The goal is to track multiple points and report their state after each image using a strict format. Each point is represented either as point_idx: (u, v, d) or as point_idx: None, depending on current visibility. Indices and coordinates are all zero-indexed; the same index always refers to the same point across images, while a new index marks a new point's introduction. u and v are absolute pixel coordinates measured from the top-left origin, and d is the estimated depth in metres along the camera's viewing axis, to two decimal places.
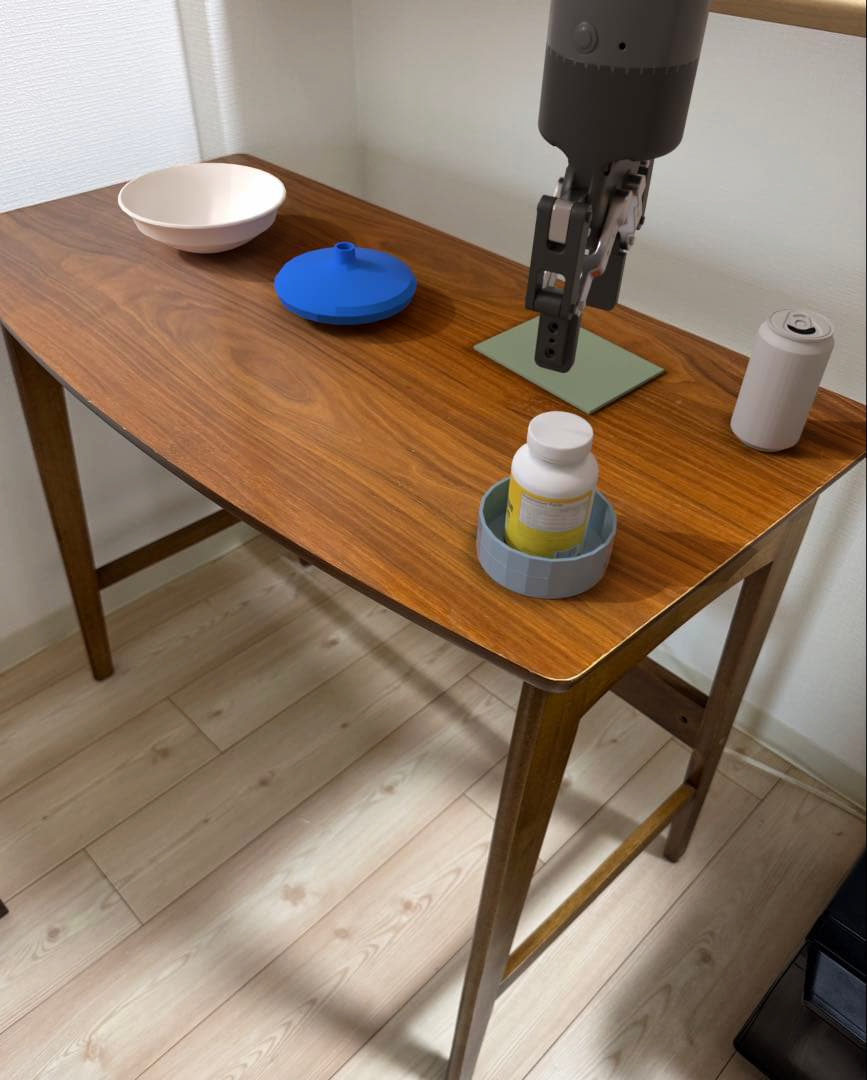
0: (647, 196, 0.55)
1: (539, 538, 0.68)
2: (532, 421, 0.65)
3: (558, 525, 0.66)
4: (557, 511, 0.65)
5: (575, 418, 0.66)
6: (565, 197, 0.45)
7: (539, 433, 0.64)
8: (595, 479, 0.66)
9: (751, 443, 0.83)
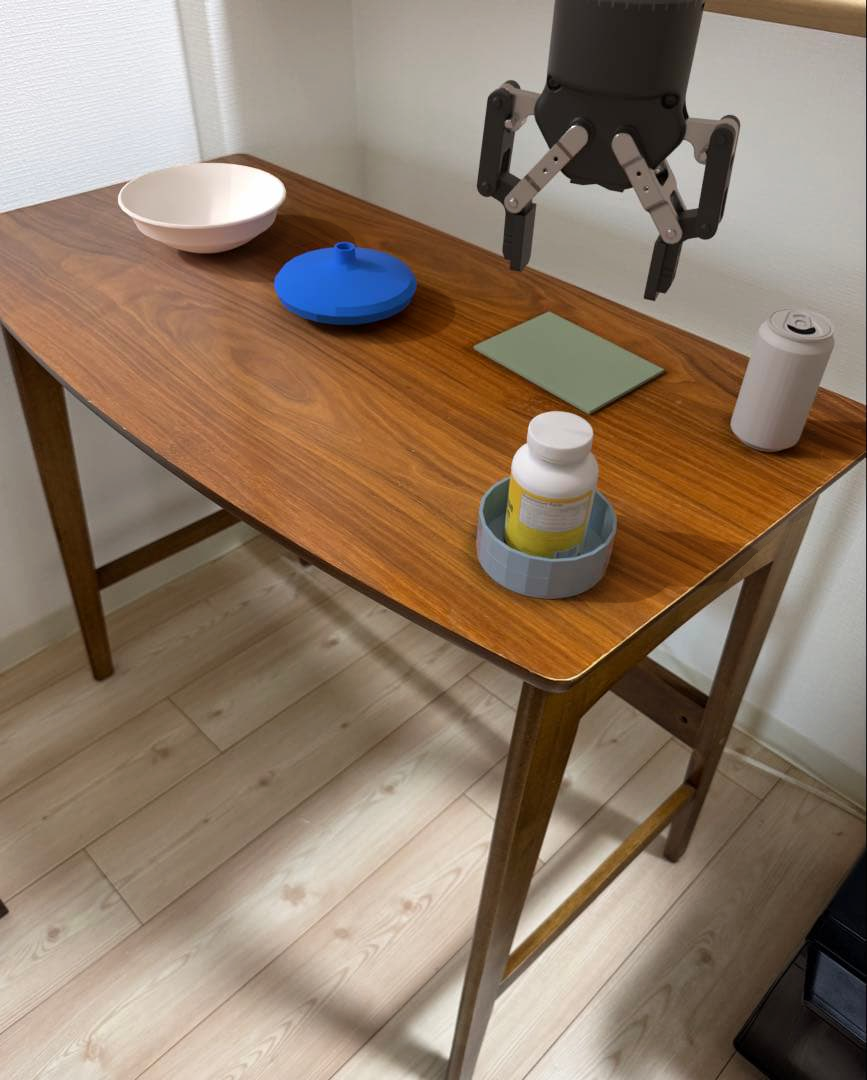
0: (719, 207, 0.49)
1: (539, 538, 0.68)
2: (532, 421, 0.65)
3: (558, 525, 0.66)
4: (557, 511, 0.65)
5: (575, 418, 0.66)
6: (519, 89, 0.51)
7: (539, 433, 0.64)
8: (595, 479, 0.66)
9: (751, 443, 0.83)
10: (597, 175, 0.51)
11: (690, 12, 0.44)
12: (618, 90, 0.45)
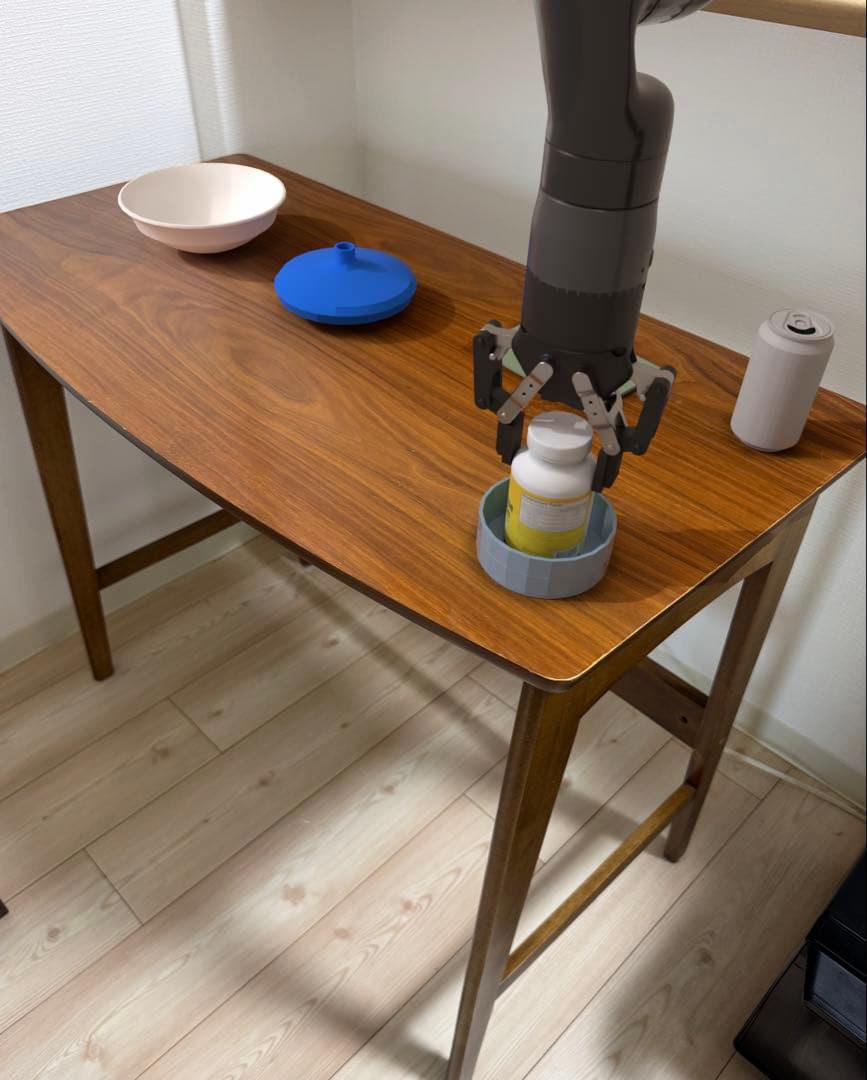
0: (651, 436, 0.60)
1: (539, 538, 0.68)
2: (532, 421, 0.65)
3: (558, 525, 0.66)
4: (557, 511, 0.65)
5: (575, 418, 0.66)
6: (499, 328, 0.62)
7: (539, 433, 0.64)
8: None
9: (751, 443, 0.83)
10: (562, 396, 0.61)
11: (631, 294, 0.54)
12: (573, 349, 0.56)
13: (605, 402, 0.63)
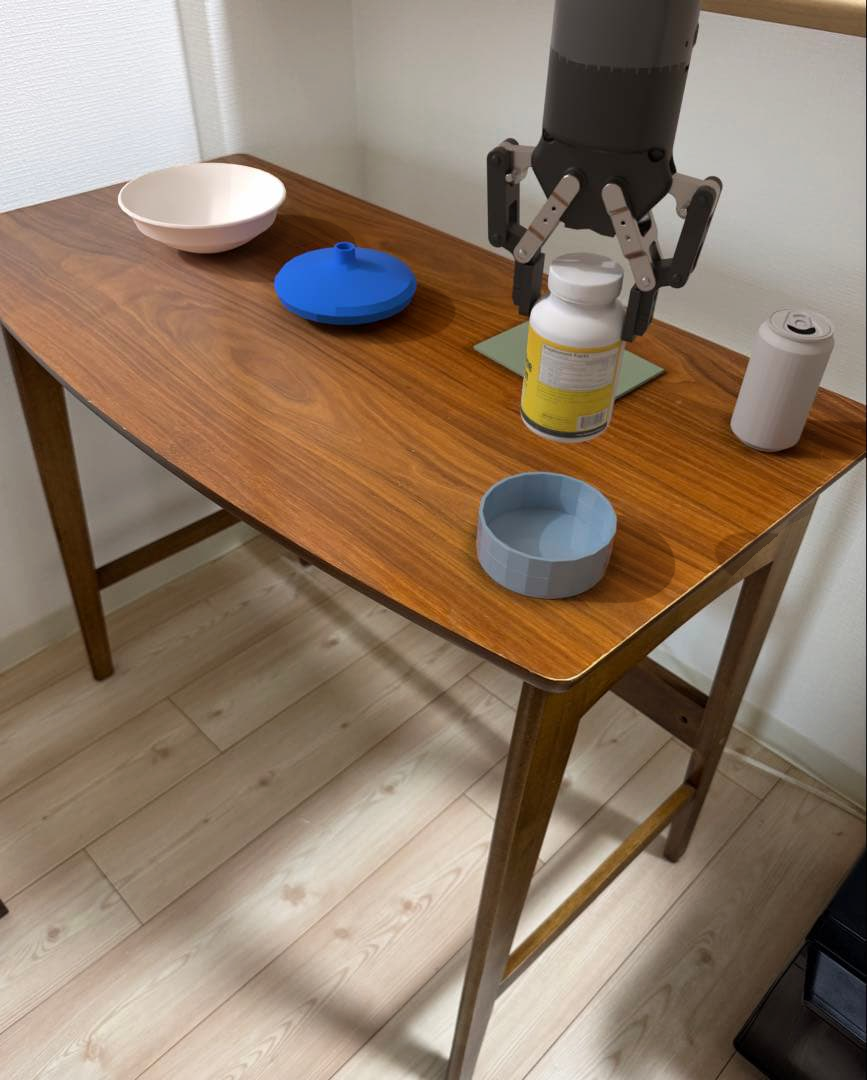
0: (692, 261, 0.52)
1: (561, 400, 0.60)
2: (554, 261, 0.57)
3: (584, 382, 0.59)
4: (582, 363, 0.58)
5: (603, 258, 0.58)
6: (516, 145, 0.54)
7: (562, 271, 0.56)
8: None
9: (751, 443, 0.83)
10: (589, 221, 0.54)
11: (673, 74, 0.47)
12: (605, 145, 0.48)
13: (638, 230, 0.55)
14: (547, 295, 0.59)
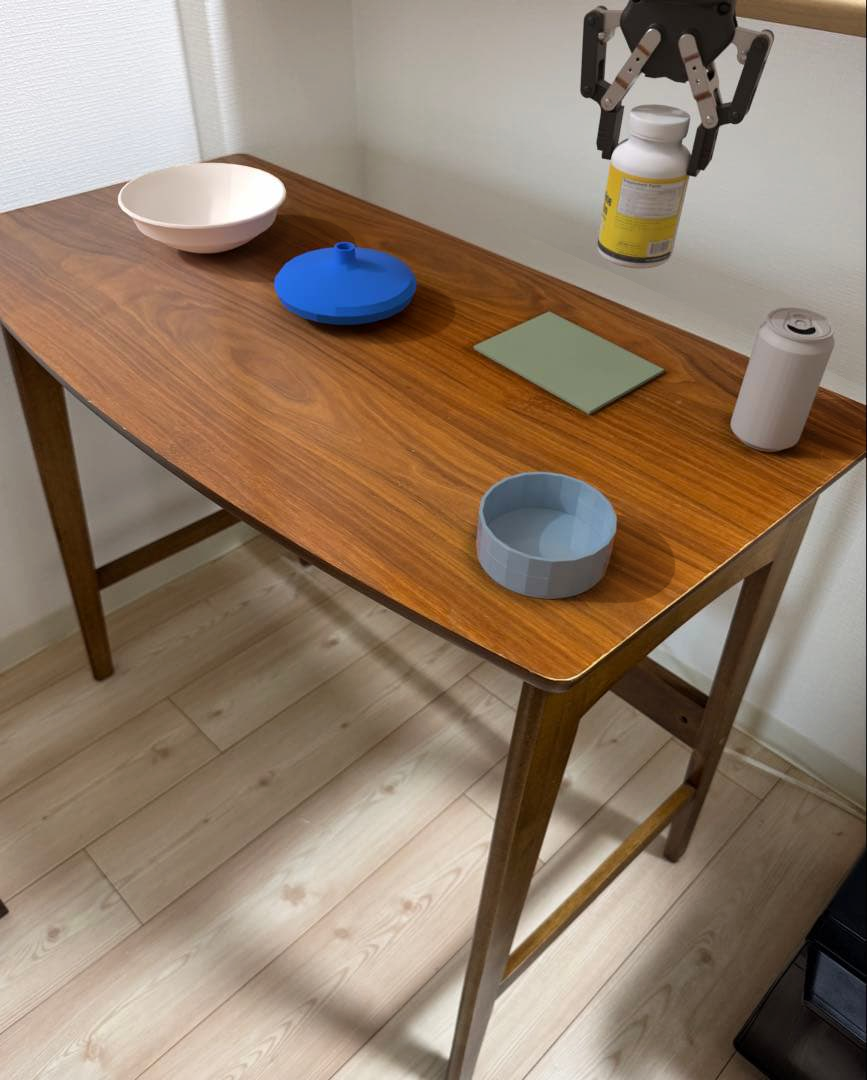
0: (749, 99, 0.66)
1: (636, 228, 0.73)
2: (633, 109, 0.71)
3: (655, 210, 0.72)
4: (655, 193, 0.71)
5: (672, 108, 0.71)
6: (607, 10, 0.68)
7: (640, 115, 0.70)
8: None
9: (751, 443, 0.83)
10: (666, 69, 0.67)
11: None
12: None
13: None
14: (625, 140, 0.72)
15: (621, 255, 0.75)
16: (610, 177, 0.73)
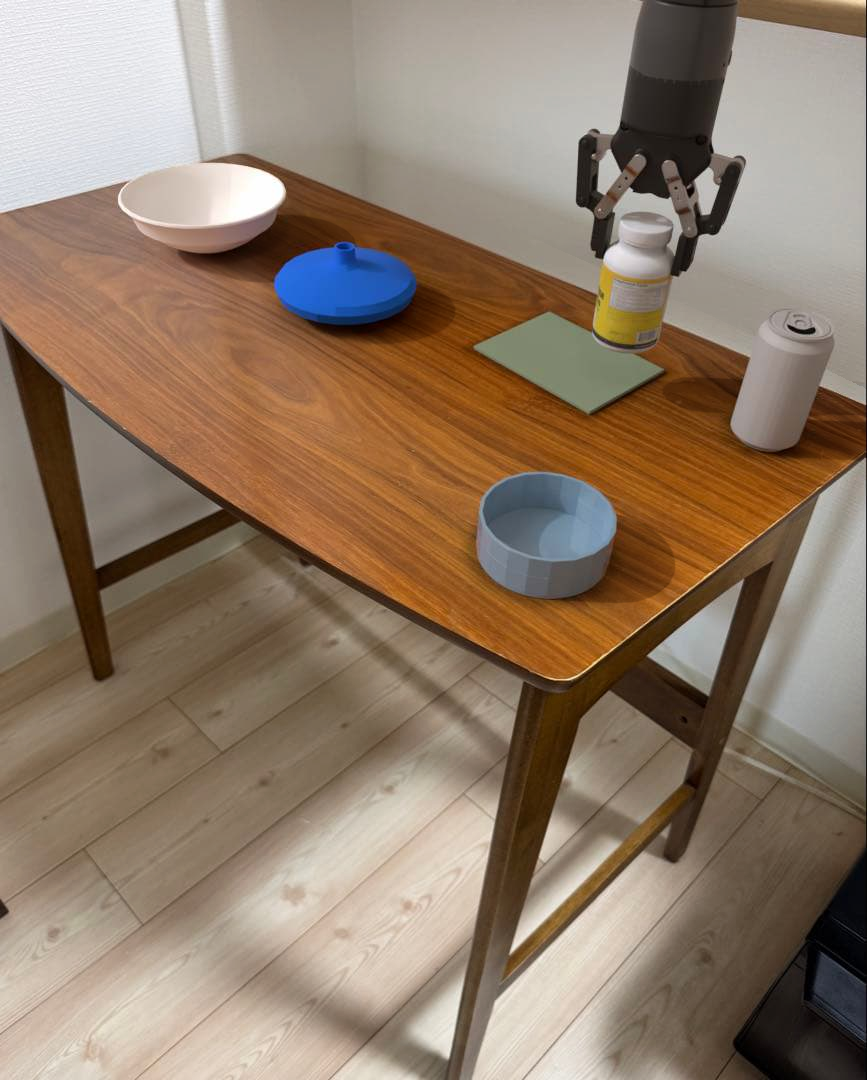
0: (724, 215, 0.75)
1: (625, 319, 0.82)
2: (622, 217, 0.80)
3: (643, 306, 0.81)
4: (642, 291, 0.80)
5: (658, 215, 0.80)
6: (599, 134, 0.77)
7: (629, 224, 0.79)
8: None
9: (751, 443, 0.83)
10: (651, 187, 0.76)
11: (714, 85, 0.69)
12: (667, 133, 0.71)
13: None
14: (616, 242, 0.81)
15: (613, 342, 0.84)
16: (603, 275, 0.82)
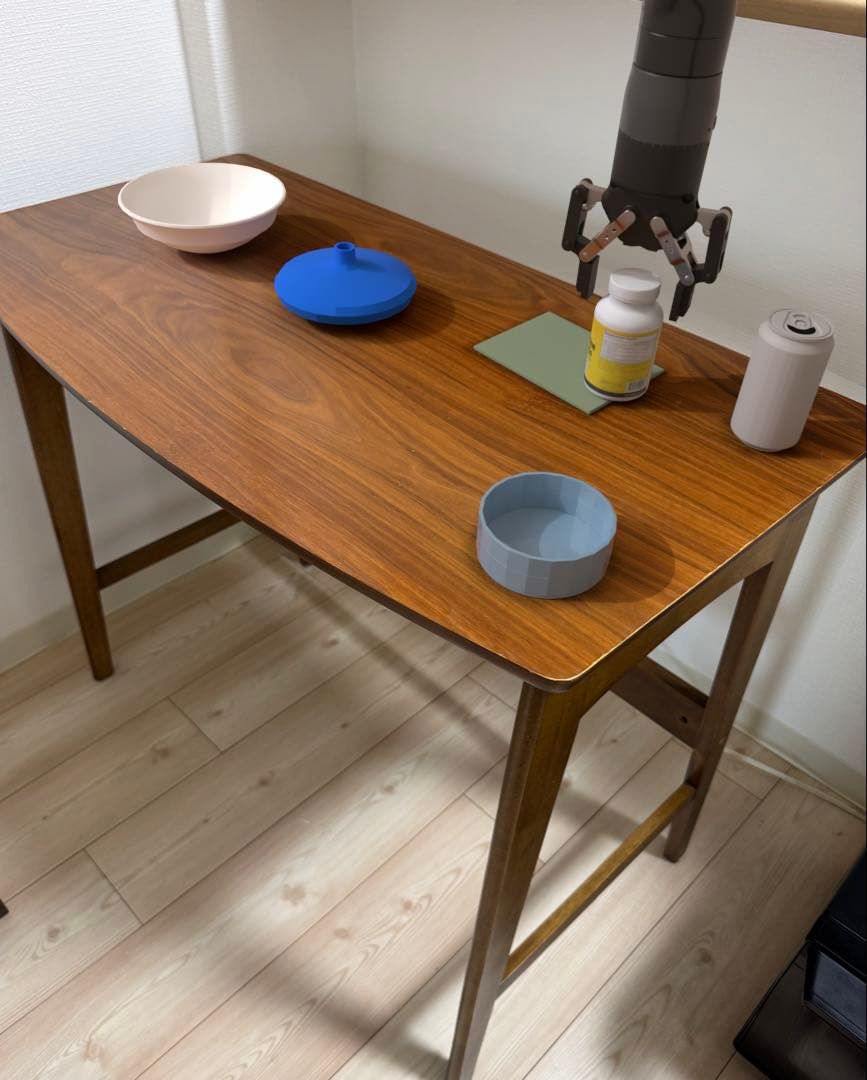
0: (718, 264, 0.77)
1: (616, 370, 0.86)
2: (613, 273, 0.83)
3: (632, 357, 0.85)
4: (632, 344, 0.84)
5: (646, 272, 0.84)
6: (592, 185, 0.80)
7: (619, 280, 0.82)
8: (661, 320, 0.84)
9: (751, 443, 0.83)
10: (640, 241, 0.79)
11: (700, 148, 0.72)
12: (654, 193, 0.74)
13: None
14: (607, 297, 0.85)
15: (603, 390, 0.88)
16: (594, 327, 0.85)
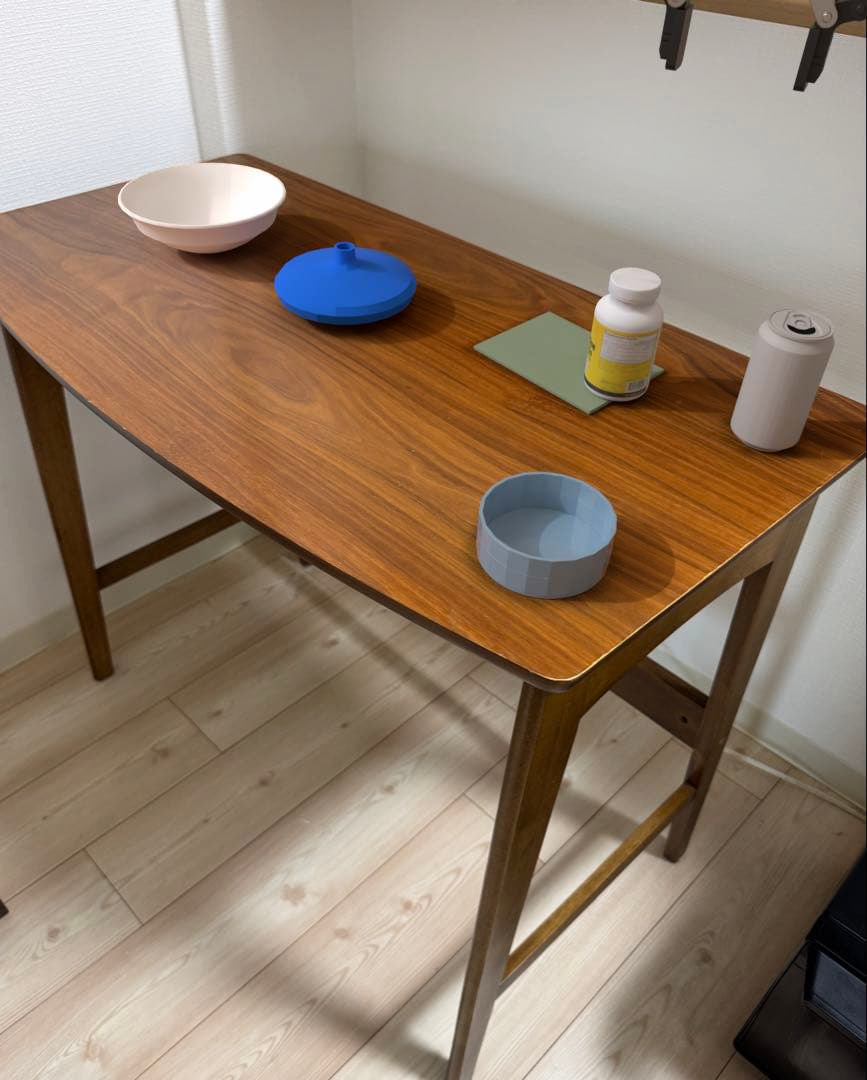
0: None
1: (616, 370, 0.86)
2: (613, 273, 0.83)
3: (632, 357, 0.85)
4: (632, 344, 0.84)
5: (646, 272, 0.84)
6: None
7: (619, 280, 0.82)
8: (661, 320, 0.84)
9: (751, 443, 0.83)
10: None
11: None
12: None
13: None
14: (607, 297, 0.85)
15: (603, 390, 0.88)
16: (594, 327, 0.85)
